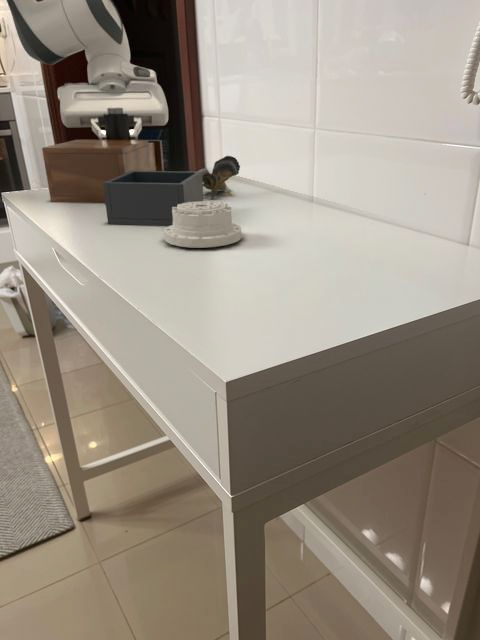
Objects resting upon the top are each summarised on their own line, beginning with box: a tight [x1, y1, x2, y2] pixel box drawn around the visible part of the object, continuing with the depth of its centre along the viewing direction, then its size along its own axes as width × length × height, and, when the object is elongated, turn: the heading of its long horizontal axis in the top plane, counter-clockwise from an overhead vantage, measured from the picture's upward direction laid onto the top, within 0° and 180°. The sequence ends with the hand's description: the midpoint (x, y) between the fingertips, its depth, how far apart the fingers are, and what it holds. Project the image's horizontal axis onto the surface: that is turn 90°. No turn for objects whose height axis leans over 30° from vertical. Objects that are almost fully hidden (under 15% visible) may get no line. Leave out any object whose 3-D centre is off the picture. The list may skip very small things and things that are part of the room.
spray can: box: [104, 108, 130, 140], centre depth 107 cm, size 4×4×12 cm
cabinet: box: [41, 139, 151, 204], centre depth 99 cm, size 14×14×9 cm
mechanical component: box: [163, 200, 242, 249], centre depth 72 cm, size 10×4×10 cm
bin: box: [103, 170, 204, 227], centre depth 84 cm, size 12×12×6 cm
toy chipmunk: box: [197, 155, 241, 200], centre depth 99 cm, size 8×7×9 cm
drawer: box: [147, 139, 165, 171], centre depth 111 cm, size 17×13×7 cm
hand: (118, 140), depth 106 cm, fingers closed on spray can, 4 cm apart
